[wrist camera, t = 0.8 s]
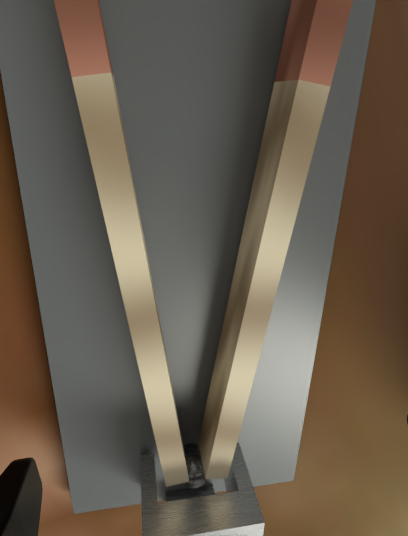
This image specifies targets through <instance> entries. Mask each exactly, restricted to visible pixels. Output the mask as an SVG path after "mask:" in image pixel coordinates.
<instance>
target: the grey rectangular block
mask: <svg viewBox="0 0 408 536" xmlns="http://www.w3.org/2000/svg"><path fill="white" fill-rule="evenodd" d="M140 474H141V504H142V534H143V536H263V532H264V525H265V522H264V519H263V516H262V513H261V509H260V506H259V503H258V500H257V497H256V494H255V491H254V488H253V485H252V481H251V478H250V475H249V472H248V469H247V466H246V463H245V460H244V456H243V453H242V450H241V447H240V444H239V442H238V443H237V445H236V448H235V452H234V456H233V460H232V464H231V467H230V471H229V475H228V478H224V479H223V480H224V484H225V488H226V492H227V493H222V494H215V495H209V496H202V497H195V498H189V499H182V500H176V501H169V502H162V503H158V500H157V486H156V473H155V459H154V453H153V454H145V455H140Z"/></svg>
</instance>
